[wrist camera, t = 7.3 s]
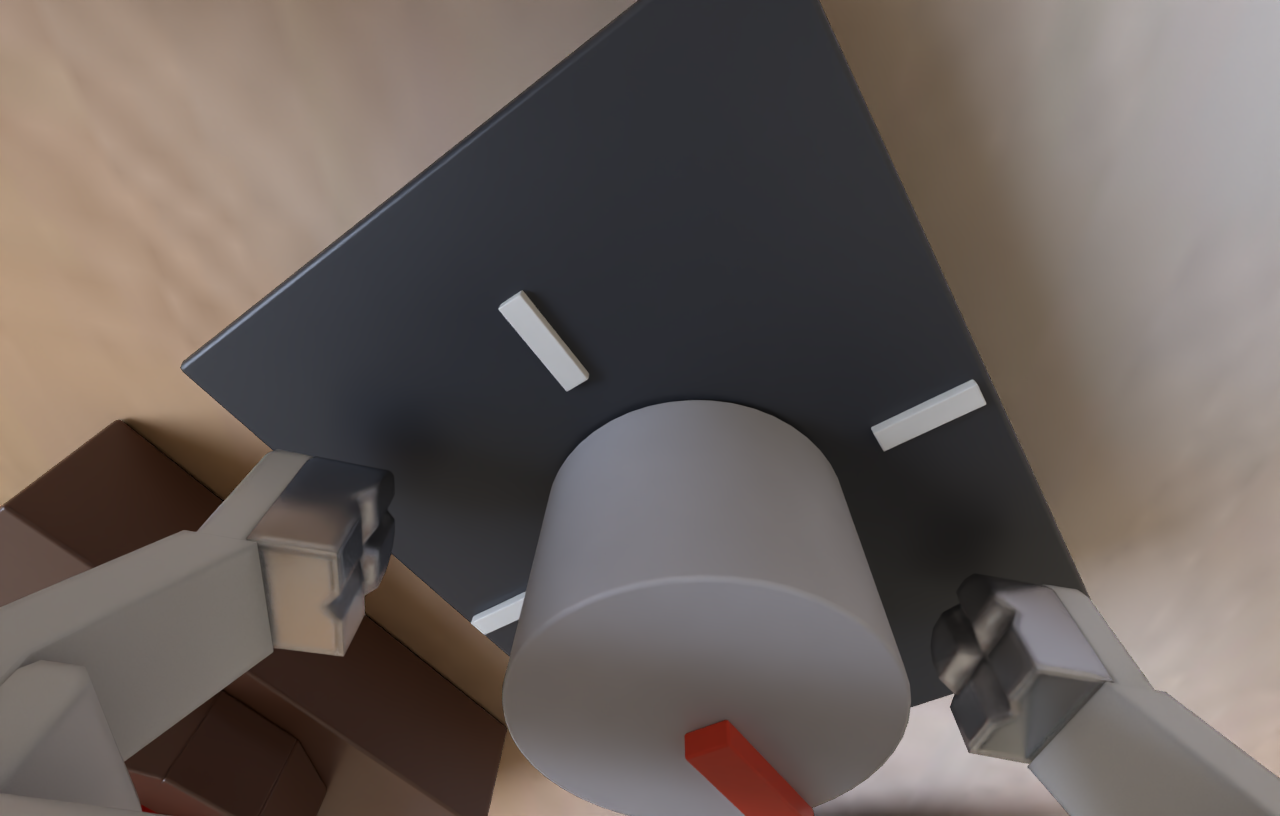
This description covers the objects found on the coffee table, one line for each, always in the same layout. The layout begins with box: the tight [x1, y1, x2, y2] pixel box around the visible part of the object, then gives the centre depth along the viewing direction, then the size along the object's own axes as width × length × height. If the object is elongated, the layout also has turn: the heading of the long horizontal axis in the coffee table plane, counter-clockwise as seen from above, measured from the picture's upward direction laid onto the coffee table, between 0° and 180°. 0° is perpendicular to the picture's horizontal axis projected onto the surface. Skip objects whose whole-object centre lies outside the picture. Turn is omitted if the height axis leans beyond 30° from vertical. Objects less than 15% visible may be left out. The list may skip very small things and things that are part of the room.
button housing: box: [0, 420, 507, 816], centre depth 15 cm, size 12×9×4 cm
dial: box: [502, 400, 911, 816], centre depth 8 cm, size 4×4×4 cm
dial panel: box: [180, 0, 1091, 707], centre depth 11 cm, size 12×9×3 cm
